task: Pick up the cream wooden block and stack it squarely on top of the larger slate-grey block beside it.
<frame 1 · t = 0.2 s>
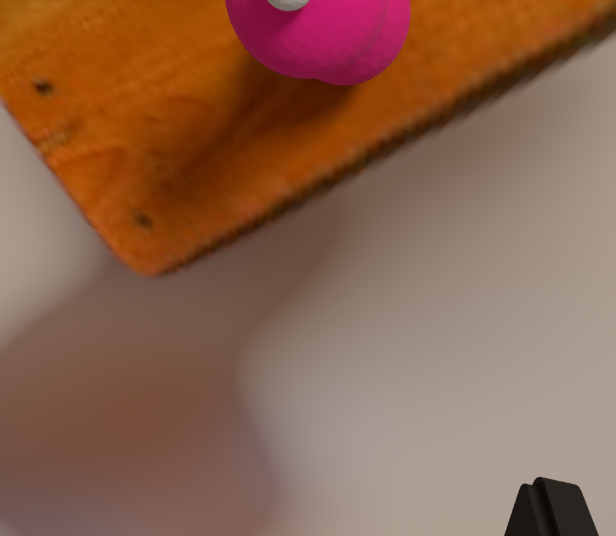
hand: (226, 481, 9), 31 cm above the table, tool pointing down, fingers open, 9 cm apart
pepper mill: (352, 22, 36), on the table
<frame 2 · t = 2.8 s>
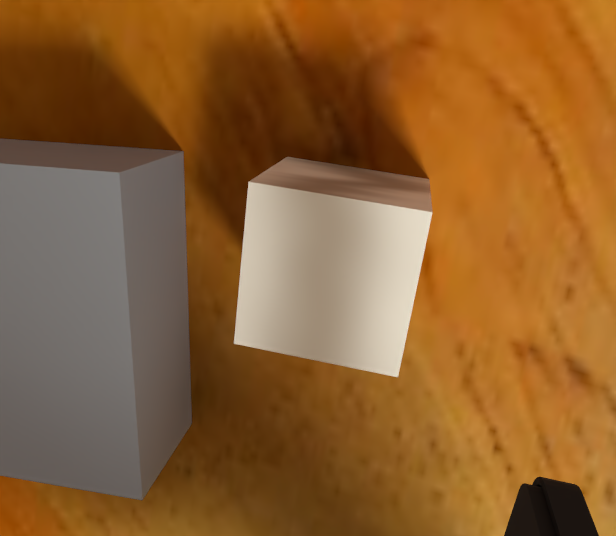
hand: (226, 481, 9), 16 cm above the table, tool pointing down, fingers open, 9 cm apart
cream block: (346, 235, 25), on the table
slate block: (76, 283, 28), on the table
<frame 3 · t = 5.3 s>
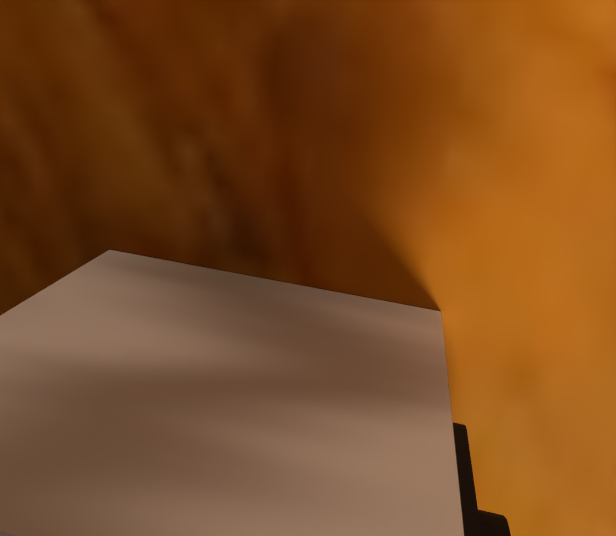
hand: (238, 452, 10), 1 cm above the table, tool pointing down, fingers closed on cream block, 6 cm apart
cream block: (253, 421, 11), on the table, touching gripper
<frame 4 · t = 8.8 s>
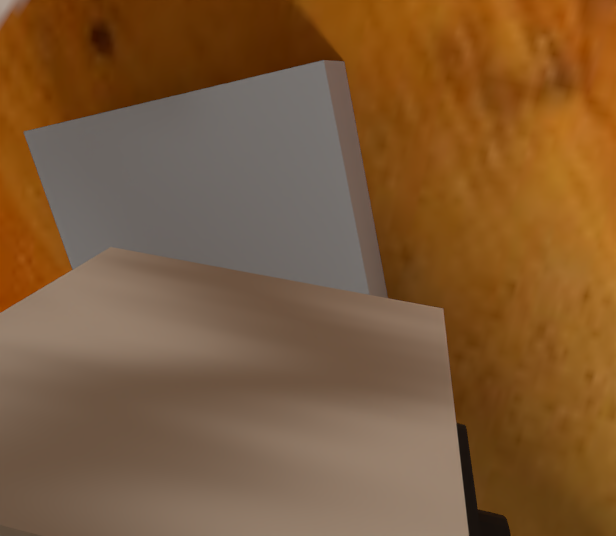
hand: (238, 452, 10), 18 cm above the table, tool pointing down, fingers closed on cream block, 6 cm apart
cream block: (255, 419, 11), point 17 cm above the table, touching gripper
slate block: (253, 236, 28), on the table
when the fingers open (8 cm above the table, at t = 12.6 s): cream block drops 2 cm, point 6 cm above the table.
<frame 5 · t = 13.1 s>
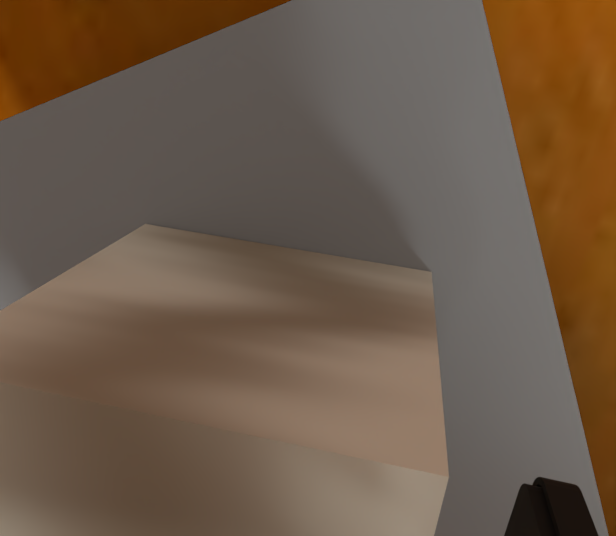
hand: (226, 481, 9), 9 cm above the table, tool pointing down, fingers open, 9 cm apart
cream block: (270, 373, 13), point 6 cm above the table
slate block: (317, 279, 18), on the table
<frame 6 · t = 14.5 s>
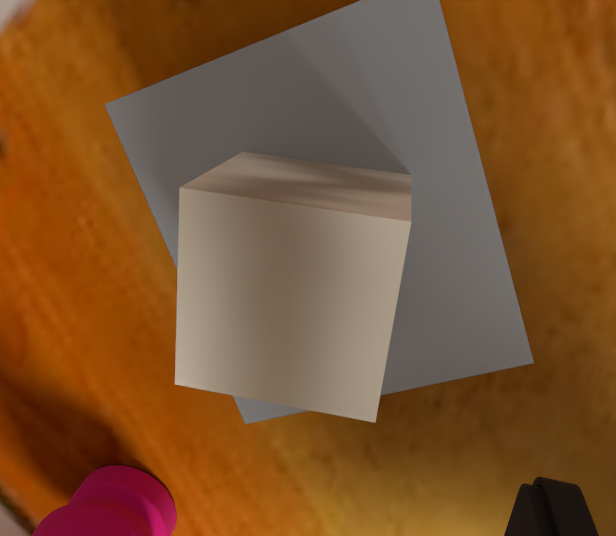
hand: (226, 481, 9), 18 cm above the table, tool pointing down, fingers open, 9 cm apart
cream block: (315, 243, 21), point 6 cm above the table, touching slate block
pepper mill: (130, 502, 35), on the table
slate block: (340, 198, 26), on the table, touching cream block
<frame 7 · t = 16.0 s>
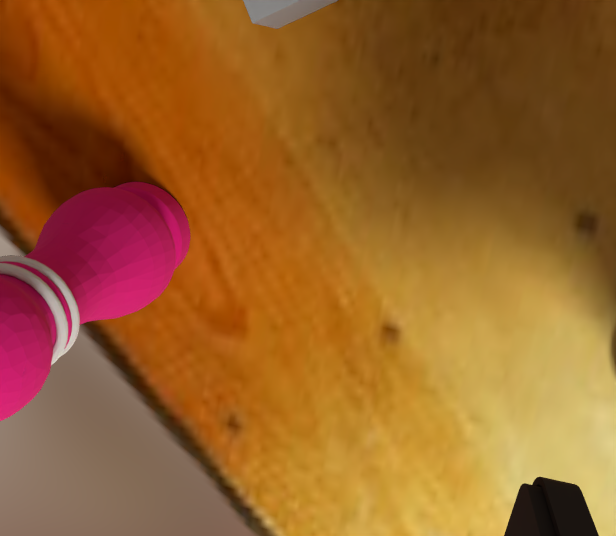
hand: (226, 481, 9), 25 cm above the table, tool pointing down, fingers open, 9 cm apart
pepper mill: (145, 228, 36), on the table
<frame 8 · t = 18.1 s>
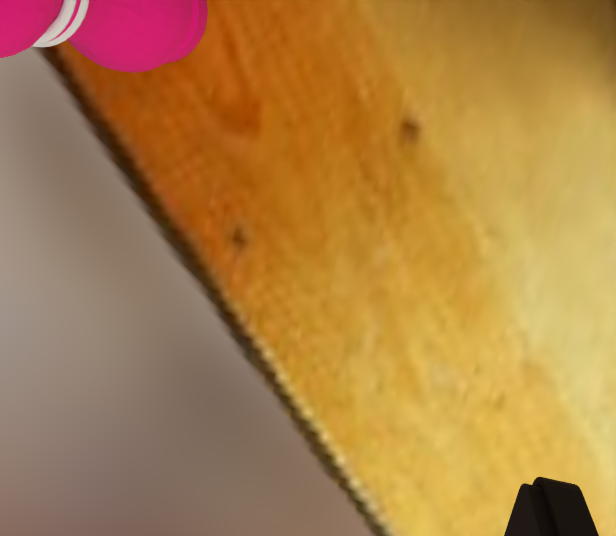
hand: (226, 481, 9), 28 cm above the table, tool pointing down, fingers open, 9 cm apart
pepper mill: (160, 9, 35), on the table
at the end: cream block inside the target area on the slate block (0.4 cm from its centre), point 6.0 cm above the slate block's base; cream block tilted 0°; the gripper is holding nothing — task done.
